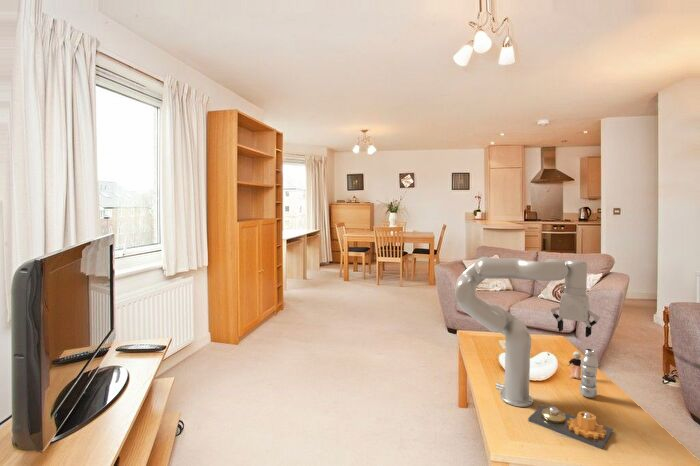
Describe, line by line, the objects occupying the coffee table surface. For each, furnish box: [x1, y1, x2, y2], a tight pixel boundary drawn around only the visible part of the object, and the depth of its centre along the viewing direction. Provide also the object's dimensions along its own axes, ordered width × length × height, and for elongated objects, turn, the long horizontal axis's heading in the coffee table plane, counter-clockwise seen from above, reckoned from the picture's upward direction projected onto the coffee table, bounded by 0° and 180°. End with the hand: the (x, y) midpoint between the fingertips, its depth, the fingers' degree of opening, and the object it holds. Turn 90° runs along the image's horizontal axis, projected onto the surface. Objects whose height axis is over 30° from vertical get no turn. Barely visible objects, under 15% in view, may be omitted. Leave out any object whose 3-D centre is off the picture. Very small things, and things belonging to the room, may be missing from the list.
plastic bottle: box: [579, 348, 599, 399], centre depth 164 cm, size 6×7×20 cm
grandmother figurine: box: [567, 351, 582, 380], centre depth 182 cm, size 8×4×13 cm, turn 76°
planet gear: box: [567, 411, 606, 439], centre depth 138 cm, size 12×12×5 cm
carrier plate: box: [527, 404, 614, 450], centre depth 142 cm, size 24×14×7 cm, turn 44°
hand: (573, 333), depth 154 cm, fingers open, 9 cm apart
